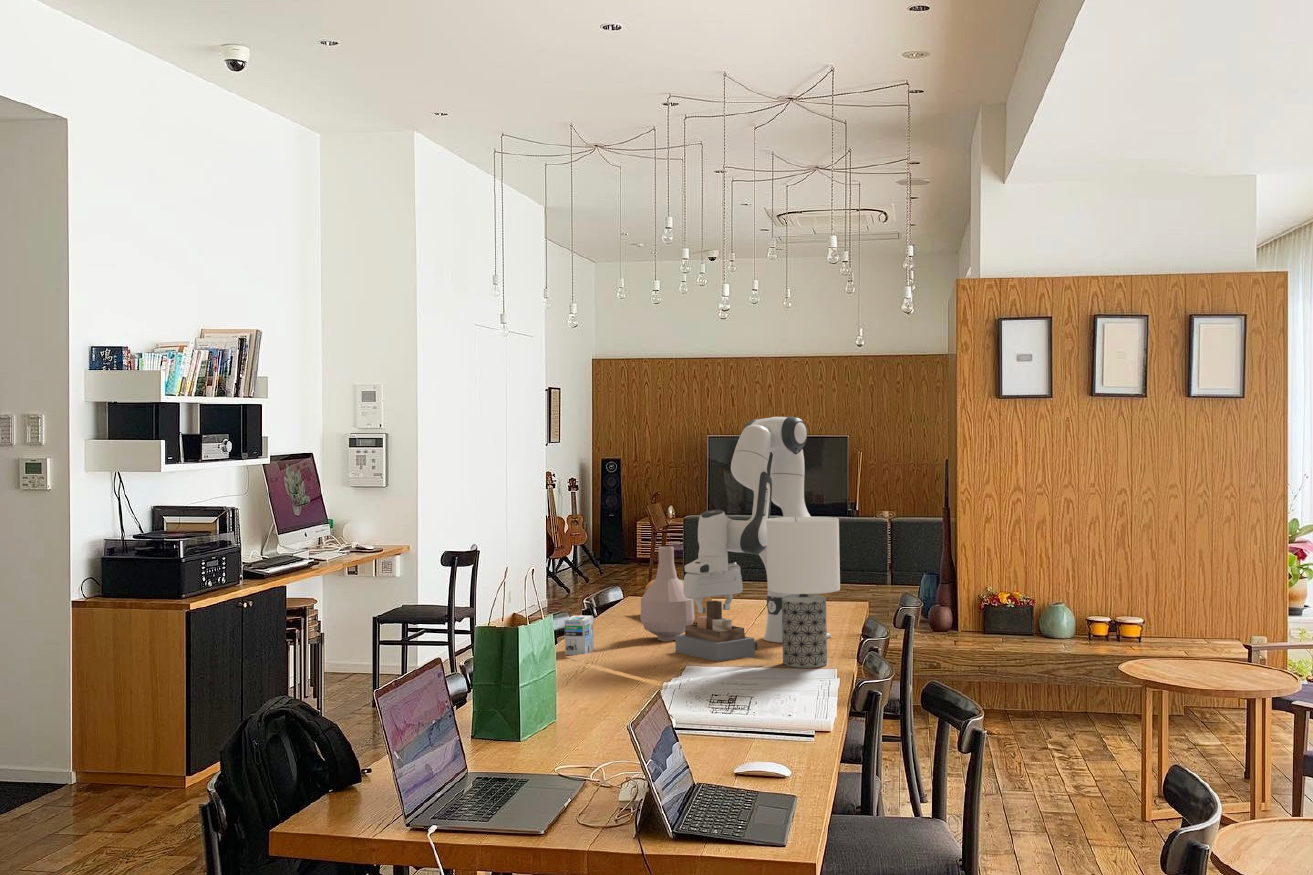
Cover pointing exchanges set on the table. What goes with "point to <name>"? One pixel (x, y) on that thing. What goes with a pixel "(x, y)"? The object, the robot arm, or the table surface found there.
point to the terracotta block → (702, 622)
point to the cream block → (722, 624)
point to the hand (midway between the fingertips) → (714, 611)
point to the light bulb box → (579, 635)
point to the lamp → (803, 583)
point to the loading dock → (716, 648)
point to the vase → (666, 601)
